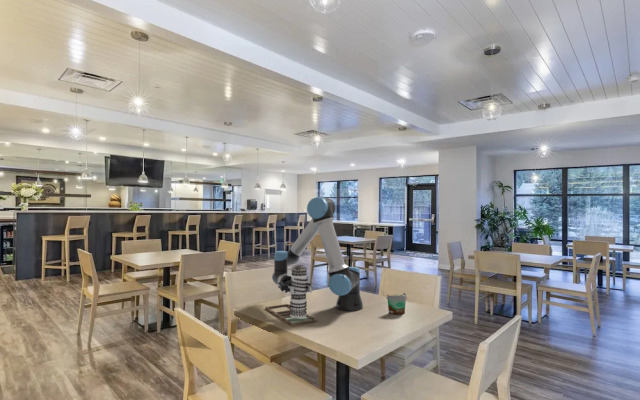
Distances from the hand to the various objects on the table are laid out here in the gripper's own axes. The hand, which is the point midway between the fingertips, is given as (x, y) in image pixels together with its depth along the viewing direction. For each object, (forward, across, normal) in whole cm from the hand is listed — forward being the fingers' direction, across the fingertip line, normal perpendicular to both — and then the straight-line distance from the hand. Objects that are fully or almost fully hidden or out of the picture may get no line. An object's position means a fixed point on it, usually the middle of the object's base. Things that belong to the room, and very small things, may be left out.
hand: (302, 290), depth 174 cm
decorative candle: (-5, 0, -14) cm, 14 cm away
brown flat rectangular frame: (-15, +1, -16) cm, 22 cm away
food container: (+7, -54, -16) cm, 56 cm away
